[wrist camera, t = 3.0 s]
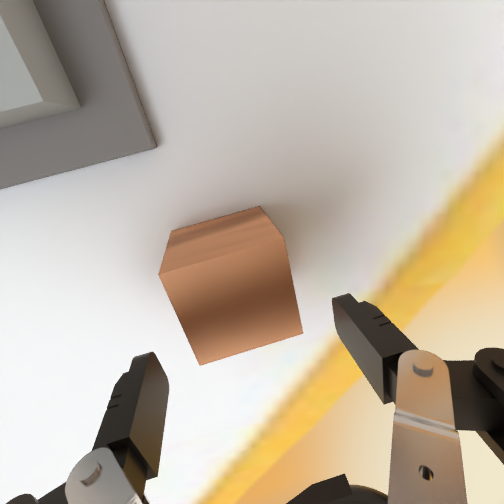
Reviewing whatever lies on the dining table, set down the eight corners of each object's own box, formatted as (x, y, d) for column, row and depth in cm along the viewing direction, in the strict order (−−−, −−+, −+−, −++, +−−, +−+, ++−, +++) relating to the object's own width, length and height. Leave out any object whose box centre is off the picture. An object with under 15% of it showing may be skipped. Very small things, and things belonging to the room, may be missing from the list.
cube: (171, 230, 18) (158, 274, 12) (259, 205, 18) (283, 237, 13) (200, 303, 20) (199, 365, 15) (276, 280, 21) (303, 333, 15)
